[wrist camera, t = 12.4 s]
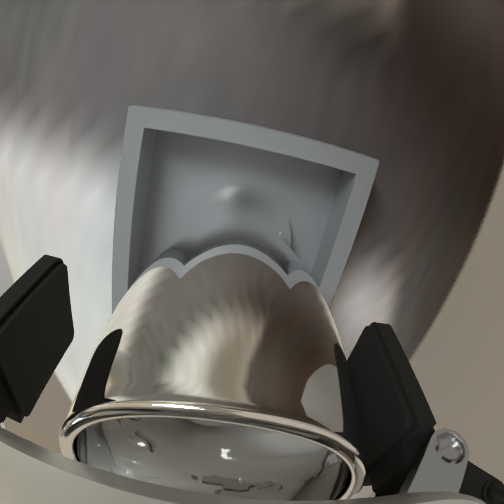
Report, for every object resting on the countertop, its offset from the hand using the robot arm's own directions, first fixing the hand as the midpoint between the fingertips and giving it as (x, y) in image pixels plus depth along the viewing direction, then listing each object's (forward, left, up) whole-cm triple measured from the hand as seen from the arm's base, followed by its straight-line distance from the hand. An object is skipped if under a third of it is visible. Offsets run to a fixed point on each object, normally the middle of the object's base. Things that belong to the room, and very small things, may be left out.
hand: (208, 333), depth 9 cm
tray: (+1, 0, -11) cm, 11 cm away
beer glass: (+1, +1, -10) cm, 10 cm away
